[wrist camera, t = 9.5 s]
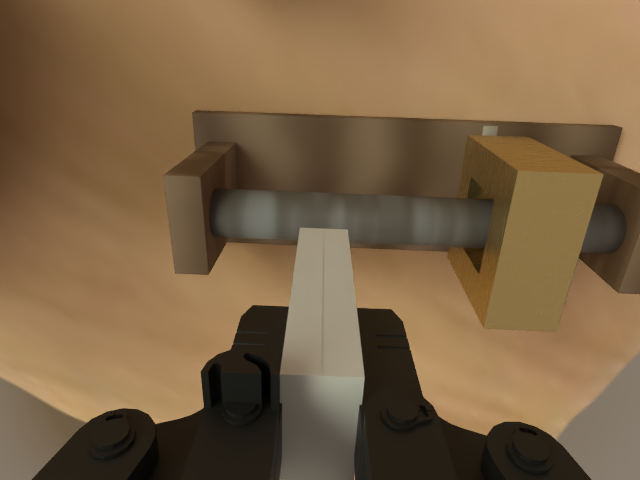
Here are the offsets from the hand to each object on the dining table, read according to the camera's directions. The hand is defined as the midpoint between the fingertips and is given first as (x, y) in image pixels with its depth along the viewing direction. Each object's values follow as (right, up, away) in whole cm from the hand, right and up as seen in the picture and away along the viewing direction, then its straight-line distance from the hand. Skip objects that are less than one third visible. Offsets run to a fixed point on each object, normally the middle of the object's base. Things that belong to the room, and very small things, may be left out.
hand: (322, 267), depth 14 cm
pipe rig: (+6, +5, +20) cm, 21 cm away
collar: (+12, +4, +17) cm, 21 cm away
